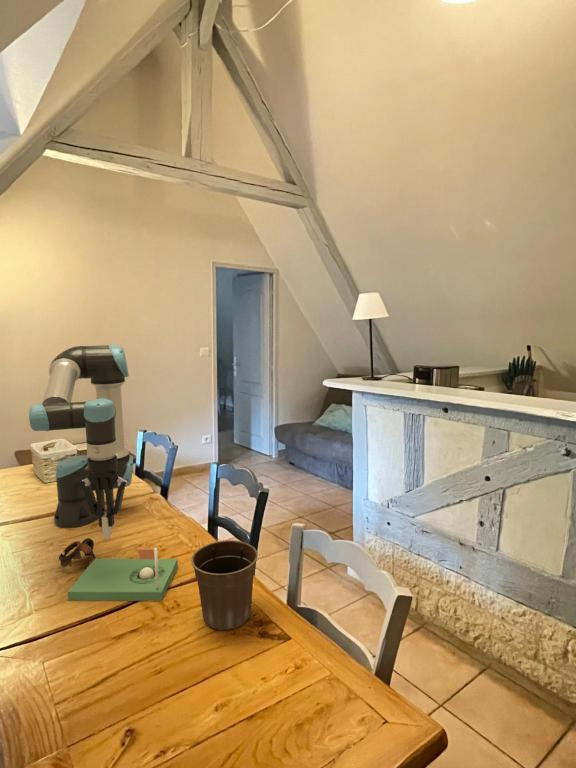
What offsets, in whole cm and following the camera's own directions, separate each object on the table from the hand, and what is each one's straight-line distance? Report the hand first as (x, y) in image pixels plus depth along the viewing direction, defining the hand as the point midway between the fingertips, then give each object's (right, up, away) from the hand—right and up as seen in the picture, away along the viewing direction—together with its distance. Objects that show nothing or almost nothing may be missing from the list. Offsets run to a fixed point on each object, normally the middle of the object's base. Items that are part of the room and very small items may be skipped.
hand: (107, 536), depth 129 cm
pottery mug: (-13, -12, +12) cm, 21 cm away
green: (+5, -13, +1) cm, 14 cm away
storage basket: (-61, -1, +92) cm, 111 cm away
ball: (+11, -11, +1) cm, 16 cm away
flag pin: (+14, -14, -6) cm, 21 cm away
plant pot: (+35, -16, -13) cm, 41 cm away
